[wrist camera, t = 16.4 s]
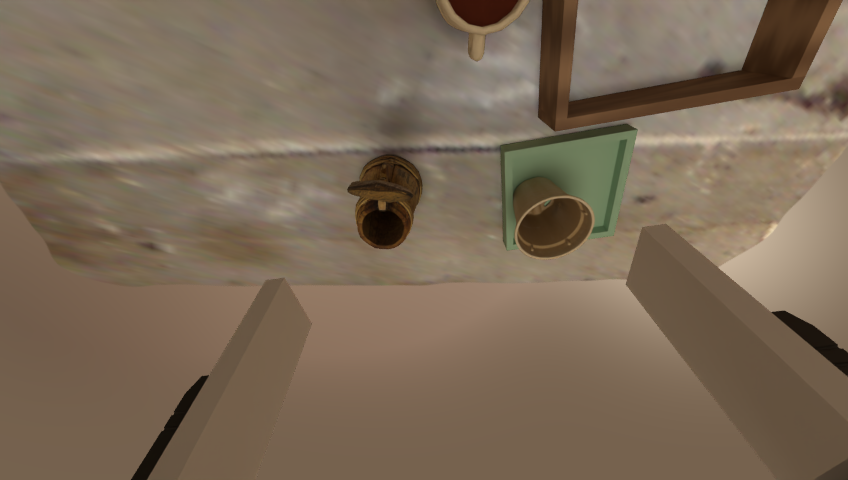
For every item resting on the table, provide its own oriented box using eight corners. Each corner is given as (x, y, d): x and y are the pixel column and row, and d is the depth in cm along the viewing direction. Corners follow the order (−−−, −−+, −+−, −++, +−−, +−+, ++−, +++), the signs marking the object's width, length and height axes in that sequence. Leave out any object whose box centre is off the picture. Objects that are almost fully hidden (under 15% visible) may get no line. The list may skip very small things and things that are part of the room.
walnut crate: (546, -90, 28) (572, -113, 23) (844, -162, 26) (943, -205, 21) (538, 117, 39) (554, 131, 34) (748, 79, 36) (799, 88, 31)
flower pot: (557, 224, 47) (580, 260, 40) (496, 223, 47) (508, 260, 40) (575, 165, 41) (606, 195, 34) (506, 165, 41) (523, 195, 34)
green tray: (500, 145, 41) (504, 152, 39) (626, 123, 39) (637, 129, 37) (503, 241, 50) (506, 250, 48) (605, 226, 48) (613, 235, 46)
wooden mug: (430, 125, 39) (435, 188, 25) (419, 215, 47) (417, 303, 32) (359, 117, 39) (322, 176, 24) (360, 209, 46) (332, 297, 32)
